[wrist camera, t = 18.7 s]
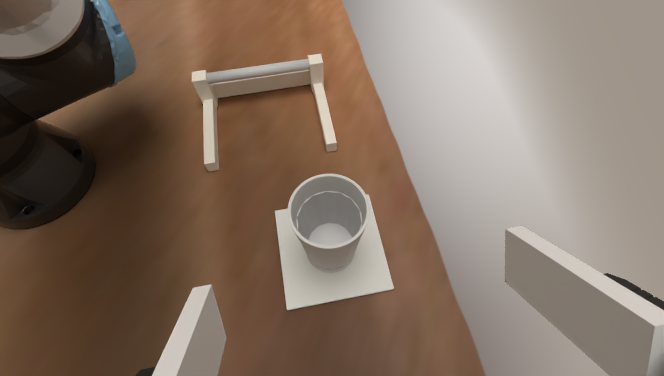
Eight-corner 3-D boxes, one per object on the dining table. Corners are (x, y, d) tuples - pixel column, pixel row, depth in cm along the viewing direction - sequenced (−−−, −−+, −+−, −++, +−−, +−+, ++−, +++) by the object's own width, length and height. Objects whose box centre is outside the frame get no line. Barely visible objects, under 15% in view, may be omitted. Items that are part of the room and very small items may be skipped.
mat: (287, 310, 41) (286, 309, 41) (275, 212, 47) (274, 210, 47) (393, 289, 42) (393, 288, 42) (368, 196, 48) (368, 194, 48)
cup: (334, 208, 47) (333, 160, 36) (375, 251, 44) (387, 212, 33) (287, 244, 44) (271, 204, 34) (326, 293, 41) (323, 266, 31)
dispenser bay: (338, 150, 52) (338, 124, 46) (206, 171, 50) (191, 148, 45) (320, 74, 59) (318, 44, 54) (205, 90, 58) (192, 62, 52)
